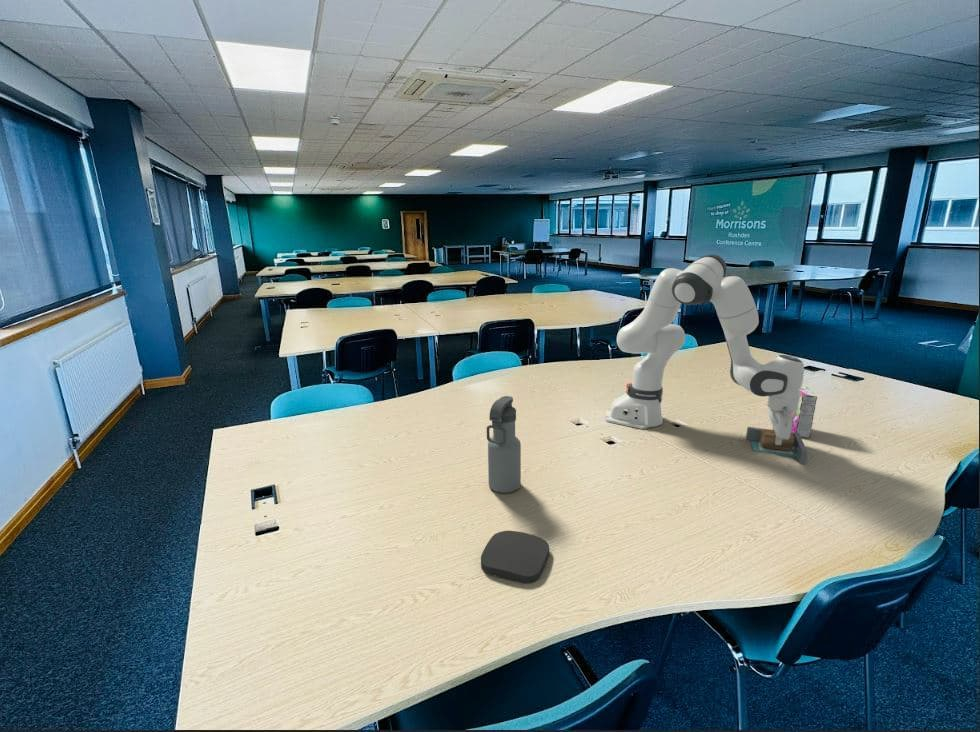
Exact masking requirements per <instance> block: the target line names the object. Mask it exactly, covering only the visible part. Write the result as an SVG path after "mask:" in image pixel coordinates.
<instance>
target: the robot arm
mask: <svg viewBox="0 0 980 732" xmlns="http://www.w3.org/2000/svg"><path fill="white" fill-rule="evenodd" d="M727 266H728V265H727V263H726V261H725V260H724V258H723V257H721V256H720V255H717V254H712V253H710V254H706V255H703V256H700V257H699V258H697V259H696V260H694V261H693V262H691V263H690V264H688V266H687V267H686V268H685V269H684V270H683V269H682V270H681V269H677V268H674V267H670V268H666V269H663V270H662V271H660V273H659V275H658V276H657V278H656V280H655V282H654V283H653V285H652V288H651V290H650V293H649V295H648V299H647V301H646V303H645V305H644V306H645V307H644V309H643V310H642V311H641V312H640V314H639V315H638V316H637V317H636V318H635V319H633V321H631V322H630V323H628V324H626V325H625V326H623V327H621V328H620V329H619V330H618V333H617V335H616V345H617V346H618V348H619V350H620V351H622V352H623V353H629V354H646V355H645V357H644V358H643V359H641V360H640V361H638V362H637V363H635V365H634V366H633V369H632V381H631V382H627V383H626V391H625V393H623V395H621V396H618V397H616V398H615V399H614V400H613V401H612V404H611V405H610V408H608V409H607V410H606V411H604V412H605V413H604V417H603V418H604V420H605V421H606V422H608V423H611V424H617V425H621V426H627V427H630V428H636V429H640V430H645V429H648V428H653V427H659V426H661V425H662V424H663V423H664V419H663V416H662V400H663V395H664V394H663V393H664V390H663V379H664V372H665V369H666V366H667V363H668V362H669V360H670V359H671V358H672V356H673V355H674V354H675V353H676V352H678V351H679V350H680V349H681V348H682V347H683V346H684V345H685V343H686V334H685V330H684V328H682V326H681V325H678V324H673V322H674V321H675V320H676V319H677V318H676V317H677V316H678V313H679V310H680V307H681V306H682V304H683V305H687V306H691V305H693V306H694V305H701V306H704V305H707V304H708V303H709V302H711V304H713V306H714V309H715V311H716V314H717V317H718V320H719V323H720V325H721V328H722V330H723V333H724V339H725V342H726V346H727V349H728V353H729V357H730V368H729V369H730V371H729V373H730V378H731V380H732V381H733V382H734V383H735V384H736V385H738V386H741V387H743V388H744V389H746V390H747V391H748V392H750V393H752V394H753V395H754V396H758V397H768V398H767V408H768V417H769V420H770V423H771V425H772V430H774V431H775V434H776V438H775V444H776V445H781V443H782V440H783V439H786V440H788V439H789V438H790V434H791V427H792V417H791V415H792V412H795V411H797V410H798V404H799V399H800V392H799V391H800V388H801V386H803V381H804V375H805V374H804V373H805V366H804V365H805V364H804V363H803V361H802V360H801V359H799V358H798V357H795V356H792V355H787V354H779V355H777V357H776V358H775V359H772V361H769V362H767V363H764V364H762V363H760V362H759V361H758V360H757V359H755V358H754V357H753V356H752V353H751V351H750V346H749V342H748V339H747V335H750V334H751V333H753V332H754V331H755V330H756V328H757V327H758V326H759V323H760V320H759V312H758V309H757V306H756V302H755V300H754V297H753V295H752V293H751V291H750V288H749V287H748V285H747V283H746V282H745V280H744V279H743V278H742V277H739V276H737V275H731V276H726V275H727V272H728V271H727V269H728V267H727Z"/></svg>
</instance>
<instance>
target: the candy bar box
mask: <svg viewBox="0 0 980 732" xmlns="http://www.w3.org/2000/svg"><path fill="white" fill-rule="evenodd" d="M799 392H800V399H799V404H798V410H797V411H795V412H792V415H791V417H792V427H791V432H794V433H799V435H800V437H801V439H802V438H803V439H804V438H805V439H809V438H810V437H811V432H812V427H813V422H814V421H813V420H814V417H815V412H816V411H815V410H816V405H817V399H818V396H817V394H815V393H814V392H812V390H810V389H809V388H808V387H807V386H805V385H802V386H801V388H800V391H799Z"/></svg>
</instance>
